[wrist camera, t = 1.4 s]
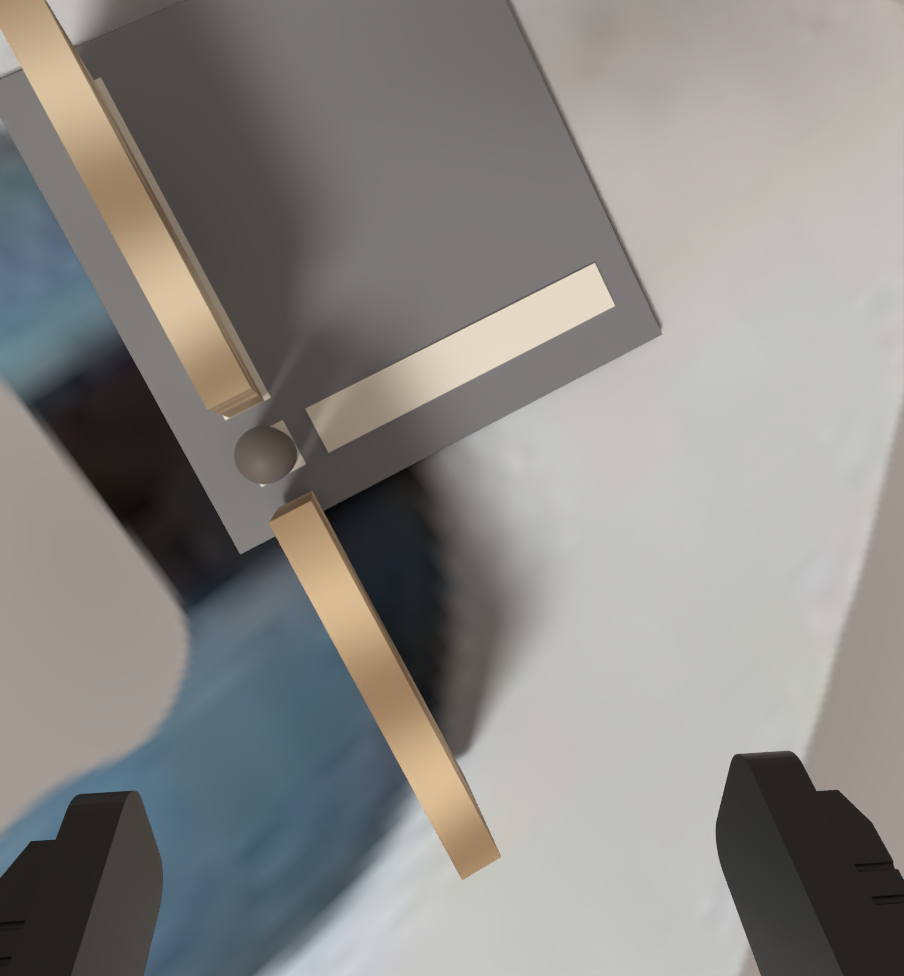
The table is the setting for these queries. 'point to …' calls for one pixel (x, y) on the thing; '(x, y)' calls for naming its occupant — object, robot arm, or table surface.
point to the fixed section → (142, 230)
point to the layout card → (347, 229)
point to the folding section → (384, 681)
